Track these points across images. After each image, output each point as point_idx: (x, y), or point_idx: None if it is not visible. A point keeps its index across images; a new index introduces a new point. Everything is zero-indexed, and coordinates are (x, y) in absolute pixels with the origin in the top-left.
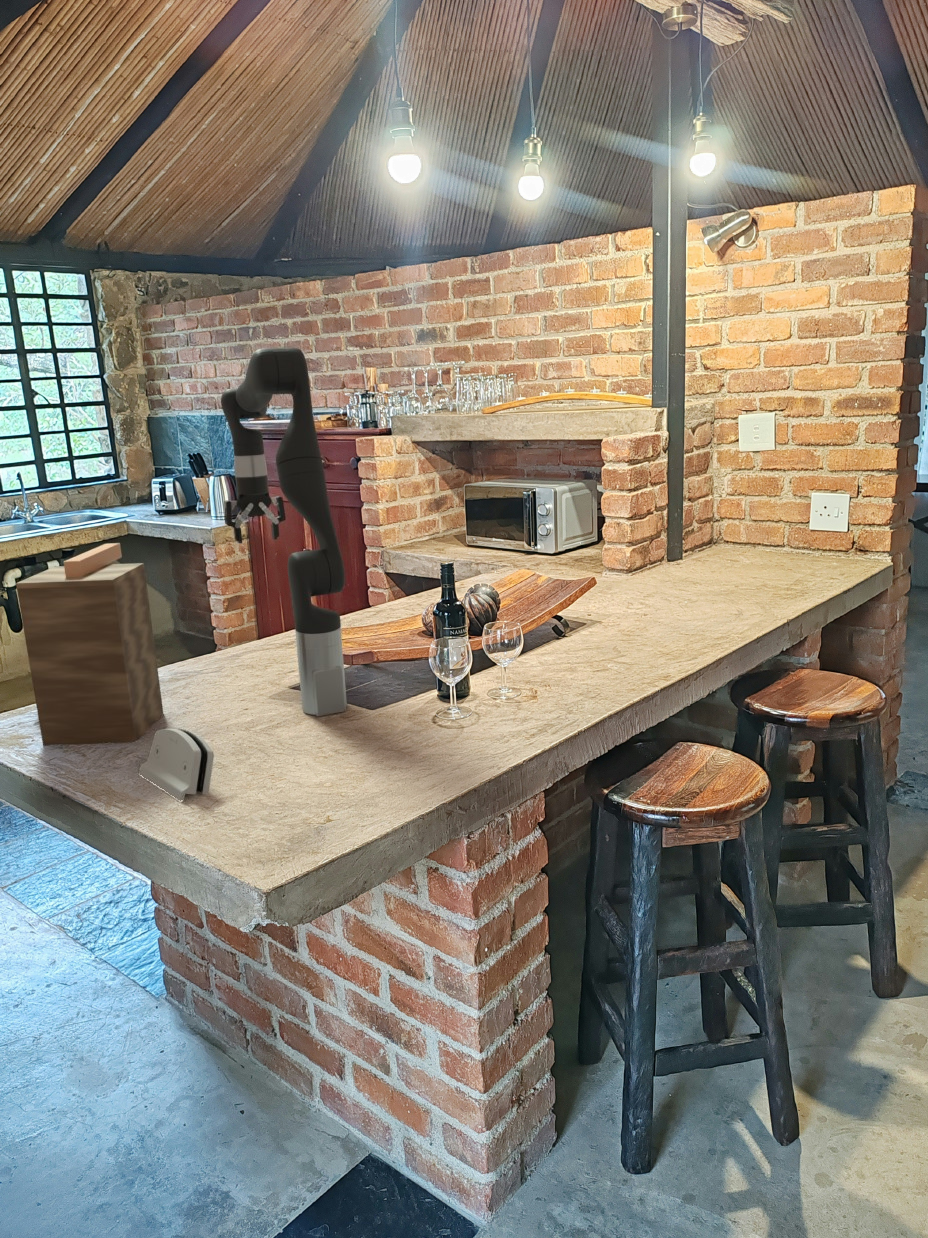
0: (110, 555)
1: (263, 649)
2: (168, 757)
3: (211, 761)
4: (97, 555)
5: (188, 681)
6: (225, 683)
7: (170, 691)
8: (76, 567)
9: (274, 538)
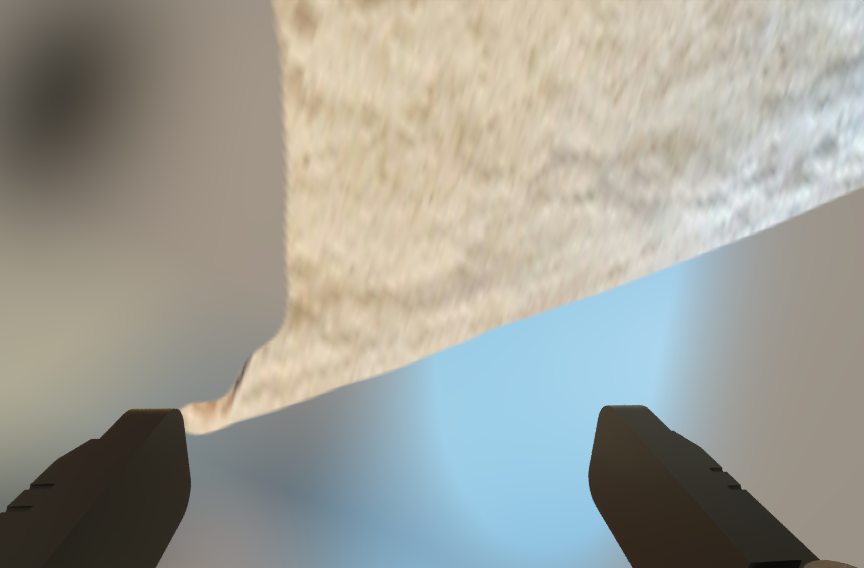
0: None
1: (380, 300)
2: None
3: None
4: None
5: (654, 109)
6: (581, 12)
7: (724, 42)
8: None
9: (169, 411)
